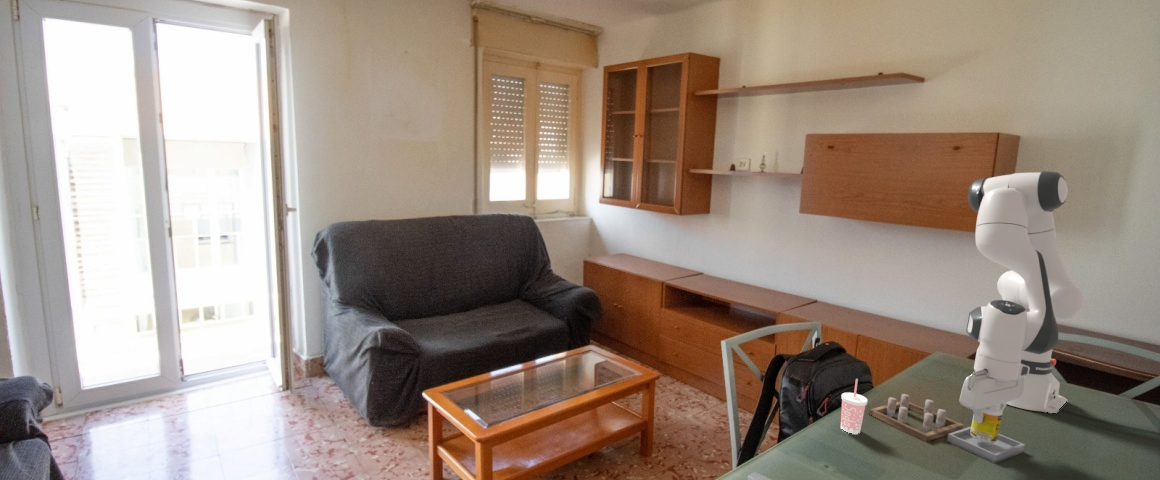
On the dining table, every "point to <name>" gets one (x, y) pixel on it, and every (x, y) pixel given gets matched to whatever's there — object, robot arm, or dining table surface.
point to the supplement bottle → (988, 425)
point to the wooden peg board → (926, 412)
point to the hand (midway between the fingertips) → (986, 419)
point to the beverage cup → (852, 411)
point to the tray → (986, 445)
